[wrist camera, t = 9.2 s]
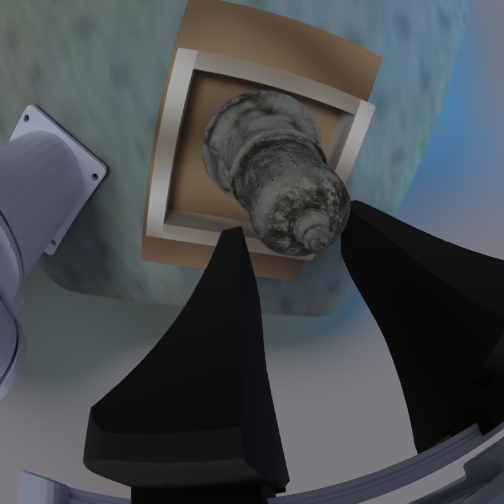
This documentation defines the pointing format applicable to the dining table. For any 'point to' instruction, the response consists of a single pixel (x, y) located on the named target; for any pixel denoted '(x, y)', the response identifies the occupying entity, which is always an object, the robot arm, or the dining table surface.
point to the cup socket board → (225, 88)
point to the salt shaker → (276, 171)
